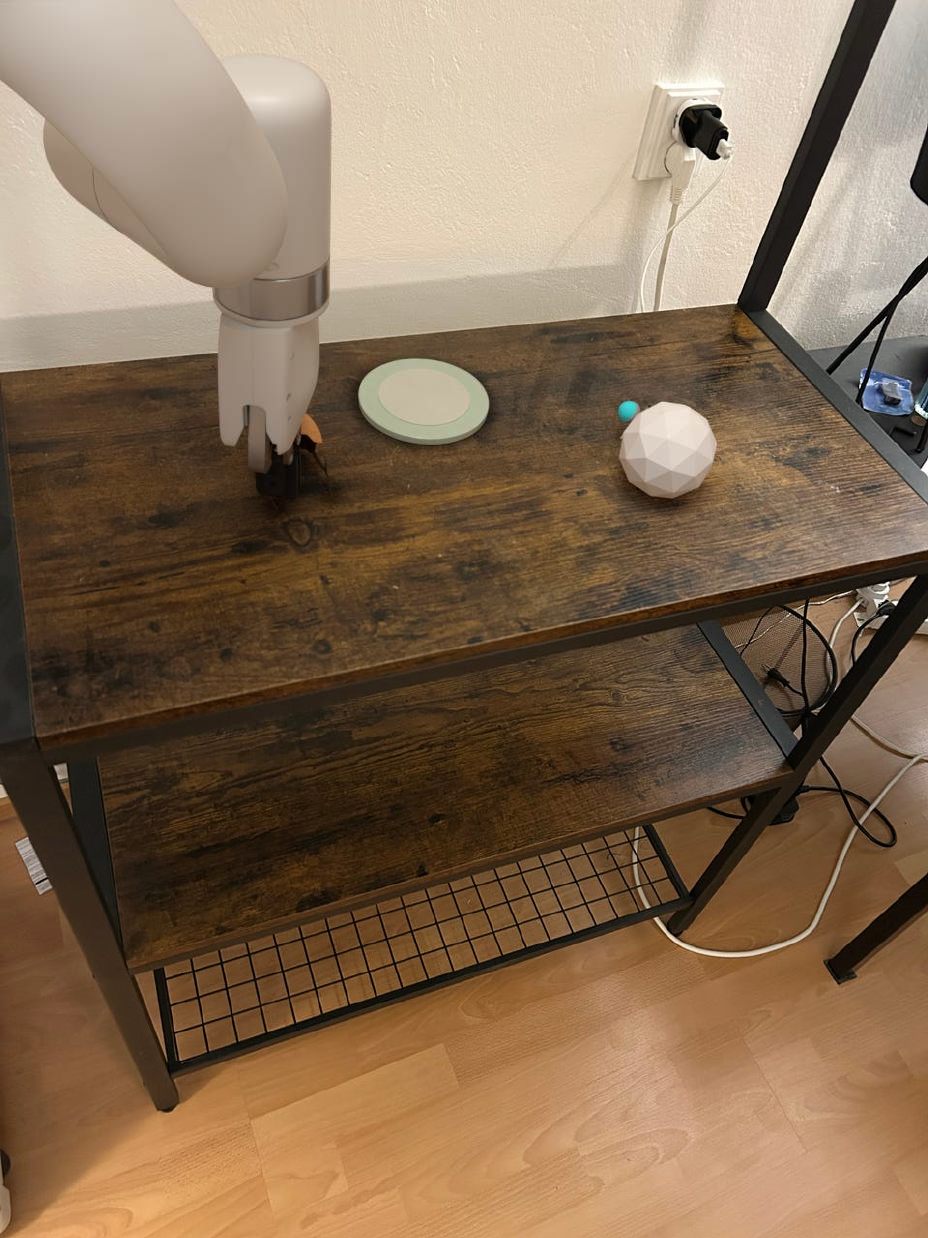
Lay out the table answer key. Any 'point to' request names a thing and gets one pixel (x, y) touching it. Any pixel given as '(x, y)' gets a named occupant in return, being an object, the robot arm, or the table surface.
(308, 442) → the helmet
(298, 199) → the robot arm
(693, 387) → the table surface
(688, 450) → the perfume bottle
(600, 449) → the table surface
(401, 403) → the plate
